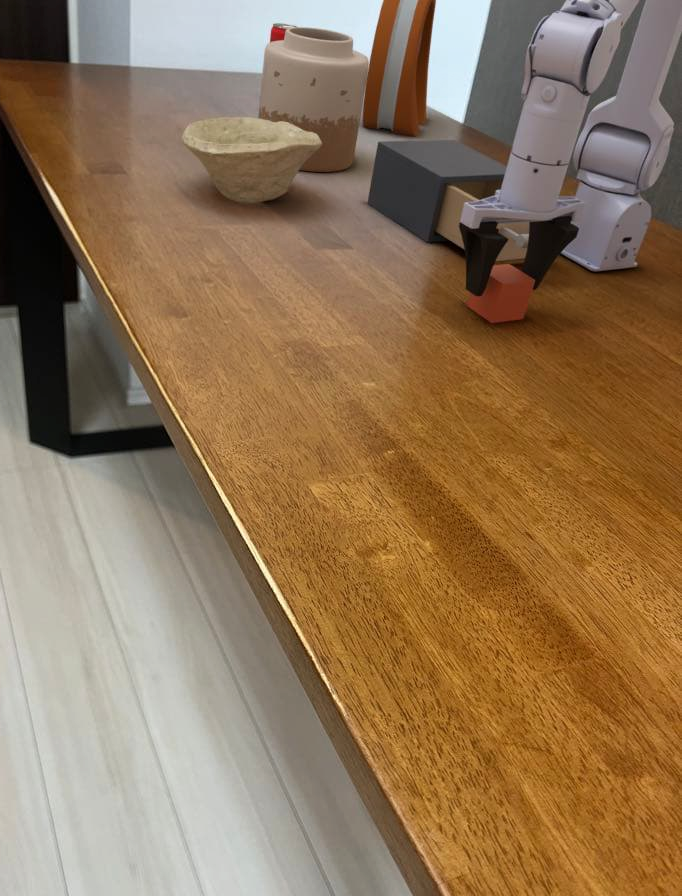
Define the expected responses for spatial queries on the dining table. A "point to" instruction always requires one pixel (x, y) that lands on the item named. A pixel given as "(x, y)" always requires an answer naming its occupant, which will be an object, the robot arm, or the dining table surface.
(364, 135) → the dining table surface
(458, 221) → the drawer
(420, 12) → the orange striped bag
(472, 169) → the cabinet
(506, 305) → the block
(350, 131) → the vase
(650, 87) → the robot arm
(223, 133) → the bowl
